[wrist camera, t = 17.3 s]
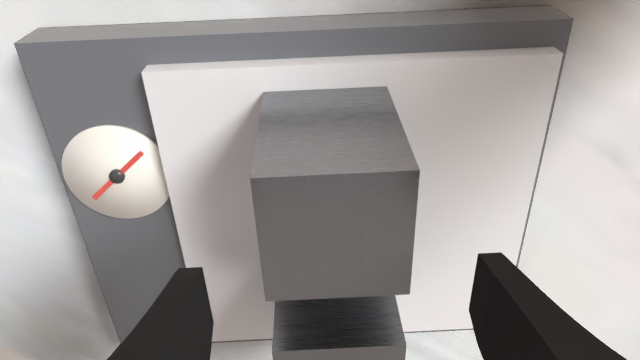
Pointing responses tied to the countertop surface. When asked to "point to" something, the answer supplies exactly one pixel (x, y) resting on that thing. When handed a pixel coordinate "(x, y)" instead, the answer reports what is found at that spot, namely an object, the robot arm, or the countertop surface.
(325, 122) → the block
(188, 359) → the robot arm
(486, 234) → the scale
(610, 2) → the countertop surface
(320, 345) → the block
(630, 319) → the countertop surface
